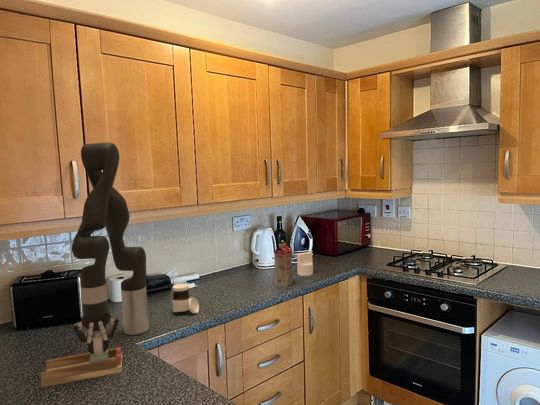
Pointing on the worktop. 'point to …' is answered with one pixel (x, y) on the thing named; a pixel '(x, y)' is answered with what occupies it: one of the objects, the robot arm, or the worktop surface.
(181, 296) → the spread jar
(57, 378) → the track
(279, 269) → the juice carton
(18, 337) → the worktop surface
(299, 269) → the cylinder with rectangular tab
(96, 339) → the slider
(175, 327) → the worktop surface
